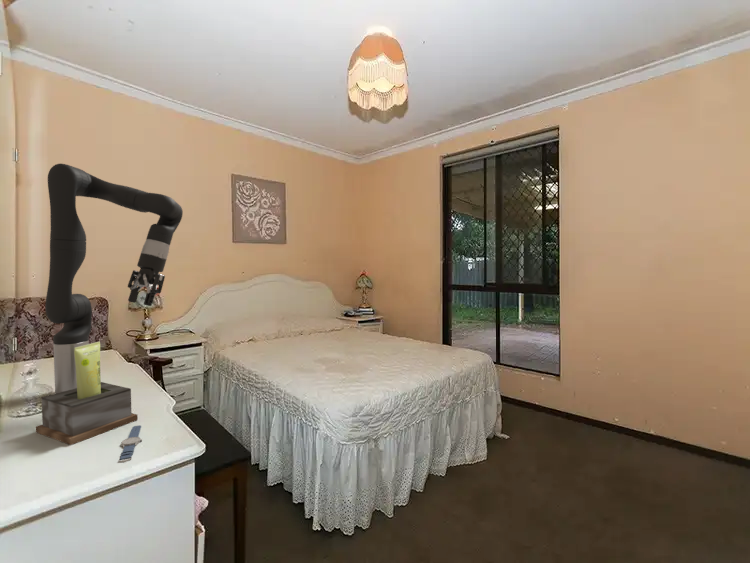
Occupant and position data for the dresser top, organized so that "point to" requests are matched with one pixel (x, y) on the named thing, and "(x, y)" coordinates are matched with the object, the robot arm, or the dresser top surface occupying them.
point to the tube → (88, 370)
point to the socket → (85, 413)
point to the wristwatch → (130, 444)
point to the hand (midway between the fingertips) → (139, 303)
